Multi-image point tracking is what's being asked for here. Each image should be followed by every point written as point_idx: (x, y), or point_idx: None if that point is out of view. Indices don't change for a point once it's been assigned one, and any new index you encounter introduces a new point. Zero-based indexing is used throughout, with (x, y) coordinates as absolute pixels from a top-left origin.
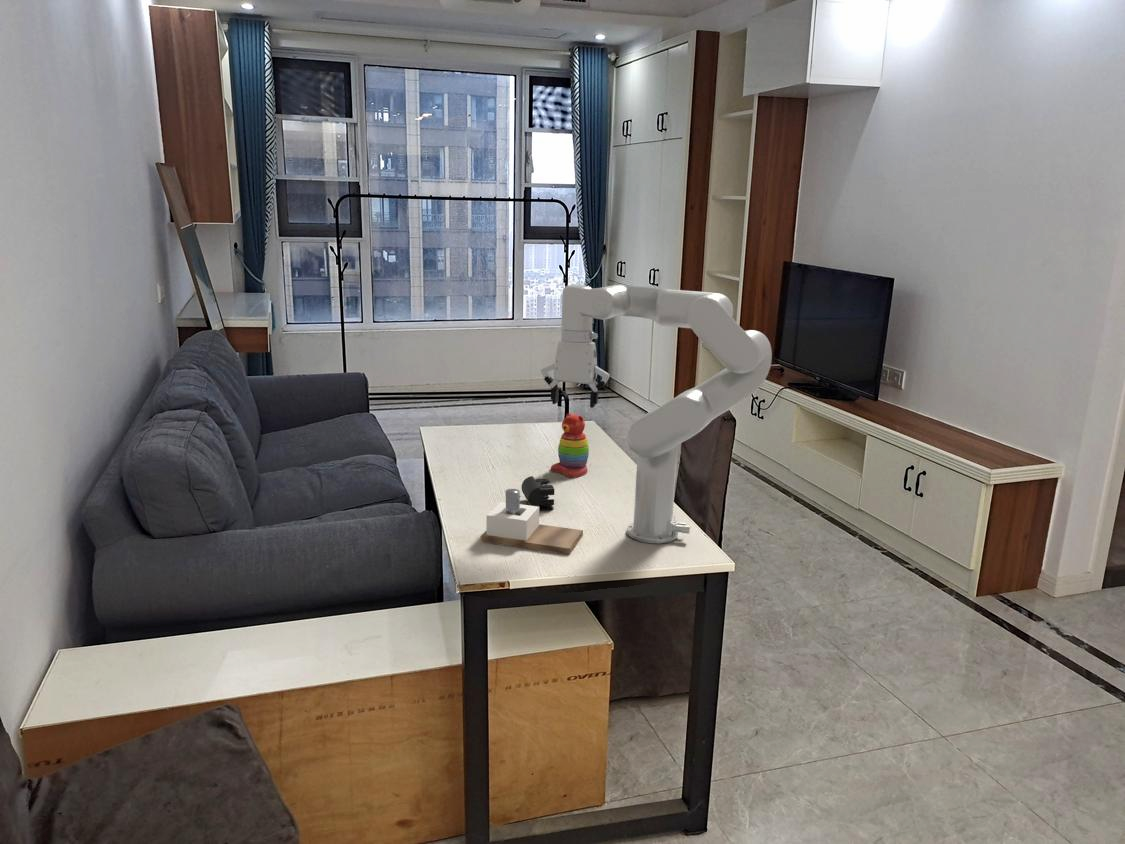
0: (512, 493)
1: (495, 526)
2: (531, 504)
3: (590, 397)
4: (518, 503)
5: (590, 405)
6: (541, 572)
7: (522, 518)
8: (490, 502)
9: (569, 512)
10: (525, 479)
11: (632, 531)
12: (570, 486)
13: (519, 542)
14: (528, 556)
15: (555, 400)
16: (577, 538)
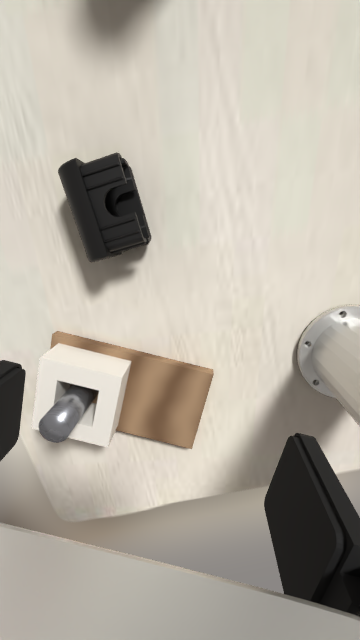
0: (56, 441)
1: None
2: (102, 259)
3: (281, 578)
4: (78, 421)
5: (269, 515)
6: (153, 497)
7: (98, 438)
8: (13, 209)
9: (186, 250)
10: (61, 171)
11: (308, 366)
12: (183, 47)
13: None
14: (129, 451)
15: (3, 453)
16: (203, 408)
